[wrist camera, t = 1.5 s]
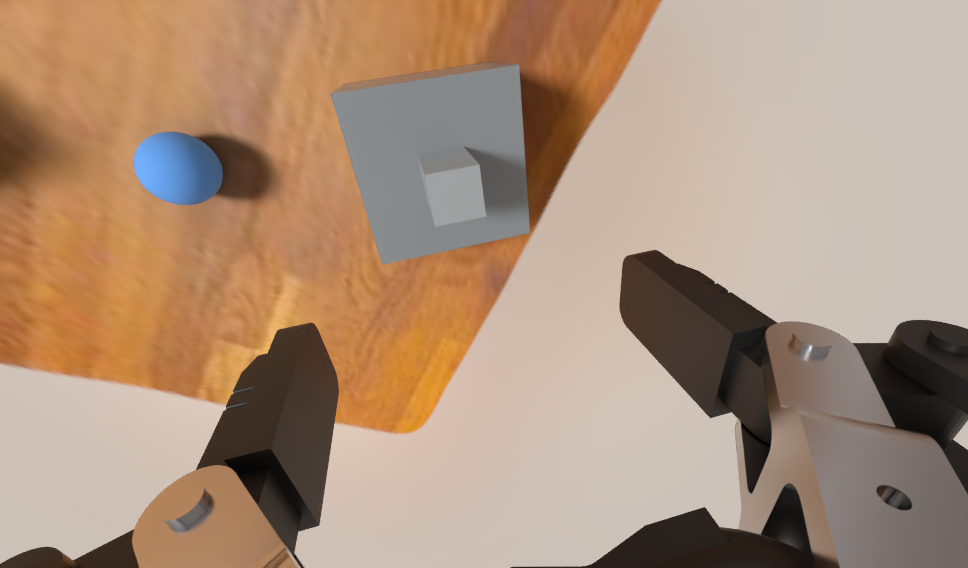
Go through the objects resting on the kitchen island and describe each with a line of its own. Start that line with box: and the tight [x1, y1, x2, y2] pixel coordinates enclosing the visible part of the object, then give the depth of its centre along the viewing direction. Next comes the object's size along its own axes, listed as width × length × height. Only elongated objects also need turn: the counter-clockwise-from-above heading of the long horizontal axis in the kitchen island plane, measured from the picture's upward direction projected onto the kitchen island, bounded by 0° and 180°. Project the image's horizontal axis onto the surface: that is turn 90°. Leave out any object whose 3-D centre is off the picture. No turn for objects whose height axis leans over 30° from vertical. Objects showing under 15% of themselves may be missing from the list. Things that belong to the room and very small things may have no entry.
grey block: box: [331, 62, 530, 265], centre depth 27 cm, size 11×11×14 cm
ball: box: [134, 132, 223, 205], centre depth 28 cm, size 5×5×5 cm
